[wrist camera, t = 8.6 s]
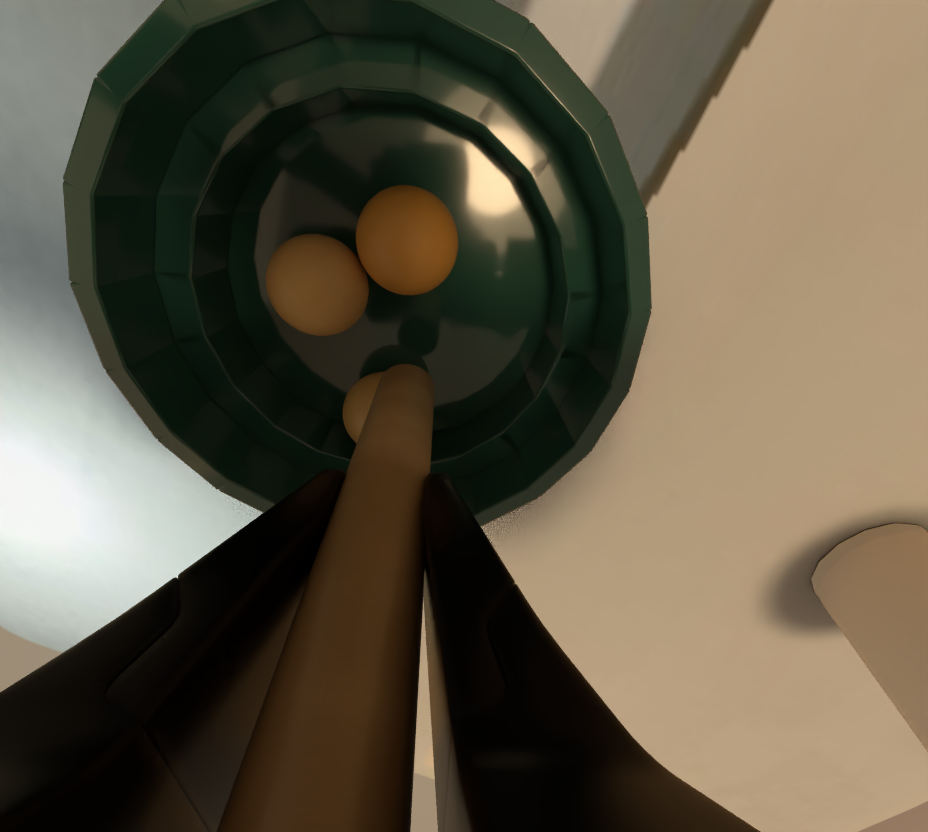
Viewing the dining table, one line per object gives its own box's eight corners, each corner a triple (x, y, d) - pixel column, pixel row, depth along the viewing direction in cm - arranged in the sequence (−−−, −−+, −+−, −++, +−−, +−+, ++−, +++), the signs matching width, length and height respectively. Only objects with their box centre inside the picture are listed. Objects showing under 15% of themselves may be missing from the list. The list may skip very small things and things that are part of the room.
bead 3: (386, 268, 14) (339, 296, 12) (386, 171, 13) (329, 182, 10) (466, 287, 14) (431, 320, 12) (477, 188, 12) (438, 204, 10)
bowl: (237, 453, 18) (169, 537, 14) (128, 21, 11) (-80, -90, 7) (555, 461, 19) (588, 544, 14) (634, 62, 12) (742, -15, 8)
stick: (403, 423, 14) (302, 963, 4) (366, 384, 13) (137, 927, 3) (445, 394, 13) (448, 923, 4) (410, 352, 13) (293, 873, 3)
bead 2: (315, 394, 15) (344, 471, 15) (359, 368, 13) (393, 458, 13) (379, 378, 17) (405, 445, 17) (425, 354, 15) (454, 430, 15)
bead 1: (275, 274, 14) (278, 353, 13) (253, 207, 11) (254, 303, 10) (365, 274, 15) (372, 349, 14) (364, 212, 12) (373, 302, 11)
